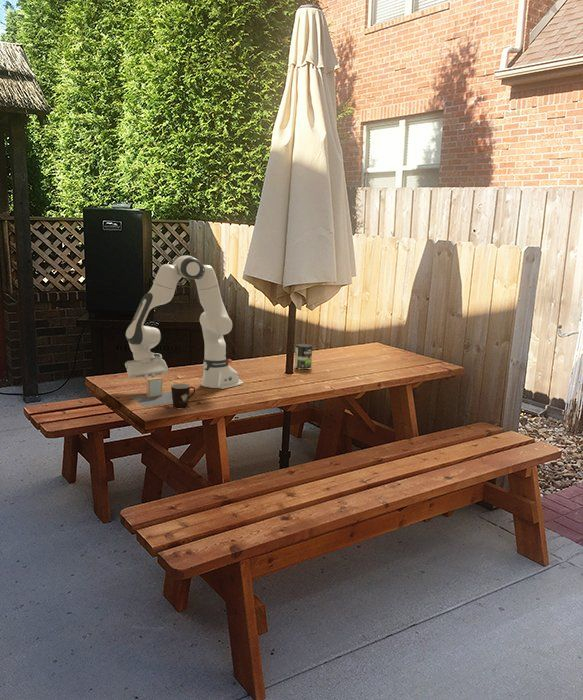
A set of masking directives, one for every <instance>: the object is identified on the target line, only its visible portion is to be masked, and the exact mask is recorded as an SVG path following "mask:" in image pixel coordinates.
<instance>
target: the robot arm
mask: <svg viewBox="0 0 583 700" xmlns="http://www.w3.org/2000/svg"><path fill="white" fill-rule="evenodd" d="M182 278H185V279H187V280H194V281H195V285H196V290H197V294H198V299H199V304H200V305H201V306H202V309H203V312H202V313H201V314H200V315H199V316H200V317H199V323H200V326H201V330H202V337H203V342H204V358H203V374H202V380H201V383H200V385H201V386H202V387H204V388H211V389H222V390H224V389H228V388H232V387H236V386H237V387H238V386H242V385H244V382H243V381H242V380H241V379H240V377H239V373H238V371H237V370H236V369H234V368H233V367H232V366H231V365H230V364H232V363H233V361H232V360H233V359H229V358H226V354H227V351H226V350H227V349H226V348H227V344H226V341H225V339H224V336H225V335H228V334H229V333H230V332H231V331H232V329H233V321H232V319H231V318H230V317H229V316H230V315H229V314H228V312H227V308H226V306H225V304H224V302H223V298H222V294H221V290H220V286H219V281H218V278H217V275H216V272H215V270H214V268H213V266H211V265H209V264H202V263H201V261H200V260H199V259H198V258H195V257H194V256H191V255H185V254H181V255H179V256H177V257H176V258H174V260H173V261H172V262H170V263H165V264H162V265H161V266H160V267H159V269H158V270H157V272H156V275H155V278H154V281H153V284H152V286H151V288H150V290H149V291H148V292H147V293H145V294H144V295H143V296H142V298H141V300H140V302H139V304H138V307H137V309H136V311H135V313H134V316H133V318H132V320H131V322H130V323H129V324H128V326H127V328H126V331H125V334H124V335H125V339H126V340H127V342H128V345H129V349H130V351H131V352H132V357H133V359H132V360H127V361H125V362H124V366H125V368H126V372H127V377H128V378H129V379H140V378H144V380H146V381H147V379H148V378H149V377H150V378H156V377H157V376H163V375H167V374H168V372H169V368H168V365H167V363H166V361H165V359H163V356H162V355H163V354H161V353H157V352H156V353H155V352H152V351H151V350H152V349H154V348H155V347H157V345H159V344H160V342H161V339H162V334H161V331H160V329H159V328H157V327H153V326H148V325H144V324H145V322H146V320H147V318H148V315H149V313H150V311H151V310H152V309H153V308H155V307H158V306H161V305H166V304H168V303H169V302H171V301H172V299H173V298H174V295H175V291H176V288H177V284H178V283H179V281H180V280H181V279H182Z"/></svg>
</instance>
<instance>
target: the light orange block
mask: <svg viewBox="0 0 583 700" xmlns="http://www.w3.org/2000/svg"><path fill="white" fill-rule="evenodd" d="M162 393H163V377H162V376H155V378H153V377H152V378H151V377H148V379H147V380H146V395H147V397H148V398H151V397H158V396H162Z"/></svg>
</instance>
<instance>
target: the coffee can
mask: <svg viewBox="0 0 583 700" xmlns="http://www.w3.org/2000/svg"><path fill="white" fill-rule="evenodd" d="M294 346H295V350H294V367H295V368H294V369H296V368H299V369H298V370H300V369H308V368H311V369H312V360H313V359H312V357H313V356H312V355H313V344H309V343H296V344H295V345H294Z"/></svg>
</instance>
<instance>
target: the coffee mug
mask: <svg viewBox="0 0 583 700" xmlns="http://www.w3.org/2000/svg"><path fill="white" fill-rule="evenodd" d="M170 387H171V388H170V389H171V391H172V399H173V403H172V405H173V406H172V407H173V408H174V409H177V408H184V409H187V408H188V404H189V399H190V398H191V397H192V396H193V395H194V394H195V392H196V387H194V386H190V384H188V383H174V384H172V385H171V386H170ZM190 389H193V392H192V393H191V394H190ZM186 407H187V408H186Z"/></svg>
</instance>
